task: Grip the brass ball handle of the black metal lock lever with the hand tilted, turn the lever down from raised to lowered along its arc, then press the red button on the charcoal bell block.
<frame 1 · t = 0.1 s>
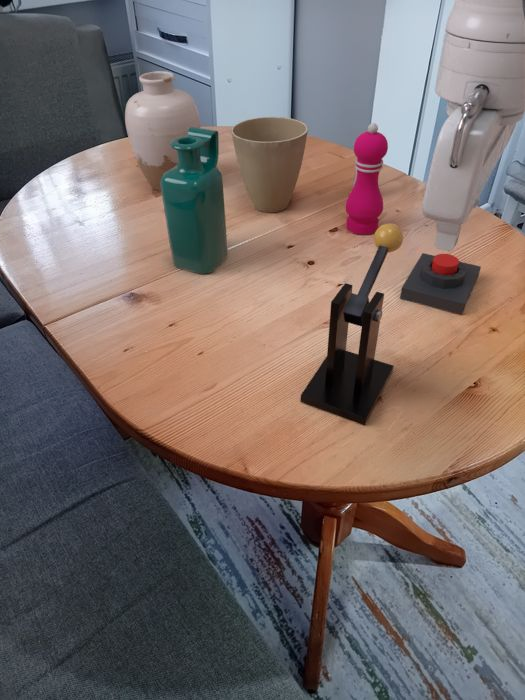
hand: (457, 224, 53), 26 cm above the table, tool pointing down, fingers open, 8 cm apart
plant pot: (270, 205, 115), on the table
pitcher: (202, 259, 99), on the table
bell button: (445, 264, 87), point 5 cm above the table, slide at 0.2 cm
vase: (171, 183, 125), on the table
lock lever: (373, 271, 66), point 15 cm above the table, hinge at 25.0°
pepper mill: (361, 228, 107), on the table
bell block: (439, 287, 90), on the table
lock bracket: (347, 386, 73), on the table
pepper shaker: (362, 195, 118), on the table
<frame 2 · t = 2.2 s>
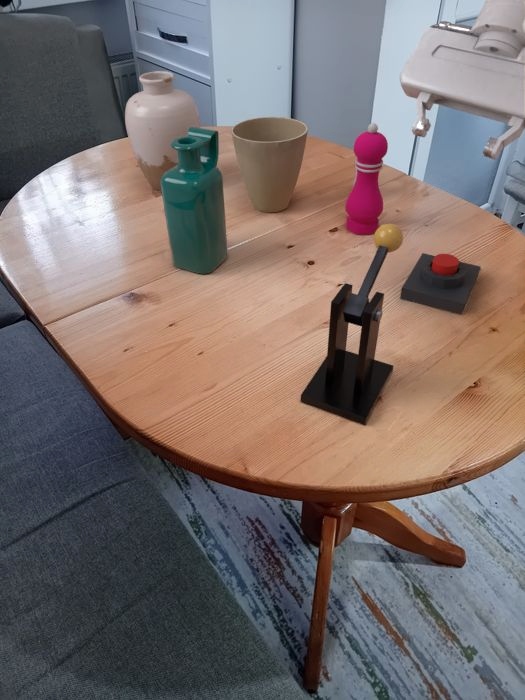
hand: (452, 144, 65), 27 cm above the table, tool tilted 40°, fingers open, 8 cm apart
nothing on the table moved.
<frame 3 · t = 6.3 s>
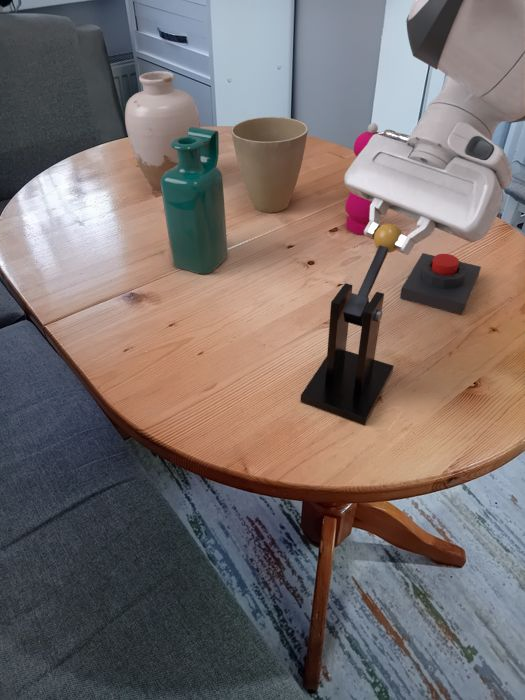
hand: (384, 244, 68), 17 cm above the table, tool tilted 45°, fingers closed on lock lever, 3 cm apart
lock lever: (373, 271, 66), point 15 cm above the table, hinge at 25.0°, touching gripper
everything else where it was.
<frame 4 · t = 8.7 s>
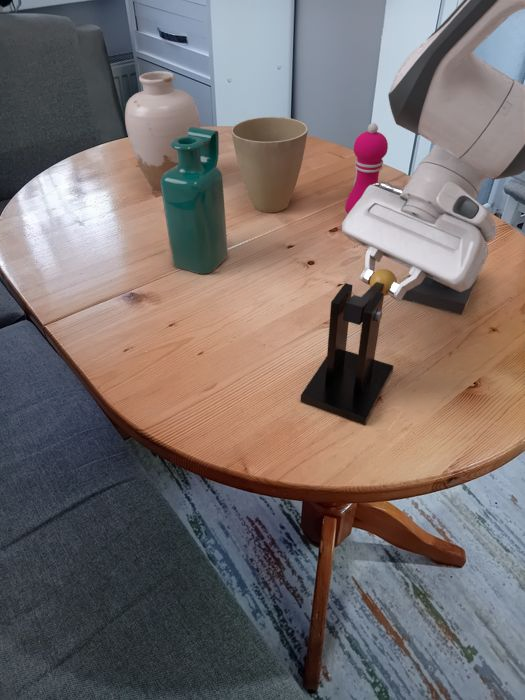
hand: (379, 290, 73), 10 cm above the table, tool tilted 45°, fingers closed on lock lever, 3 cm apart
lock lever: (371, 294, 69), point 12 cm above the table, hinge at -13.2°, touching gripper
everything else where it was.
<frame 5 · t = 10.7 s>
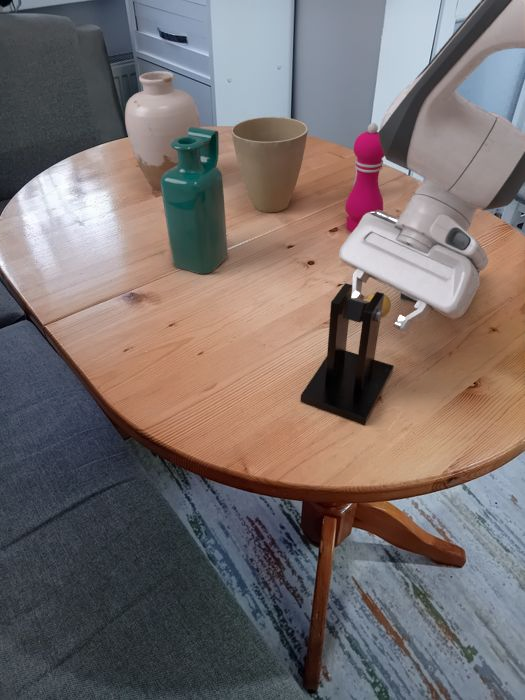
hand: (375, 316, 76), 5 cm above the table, tool tilted 45°, fingers open, 7 cm apart
lock lever: (368, 307, 69), point 10 cm above the table, hinge at -30.3°
everything else where it was.
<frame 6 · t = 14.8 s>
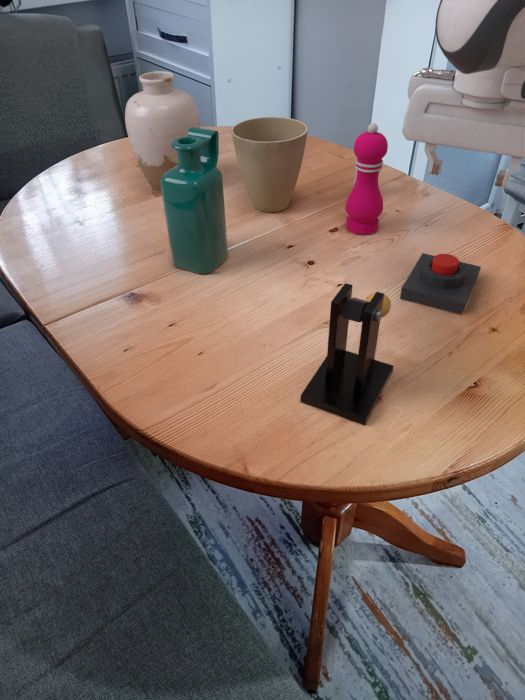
hand: (466, 179, 78), 19 cm above the table, tool pointing down, fingers open, 8 cm apart
nothing on the table moved.
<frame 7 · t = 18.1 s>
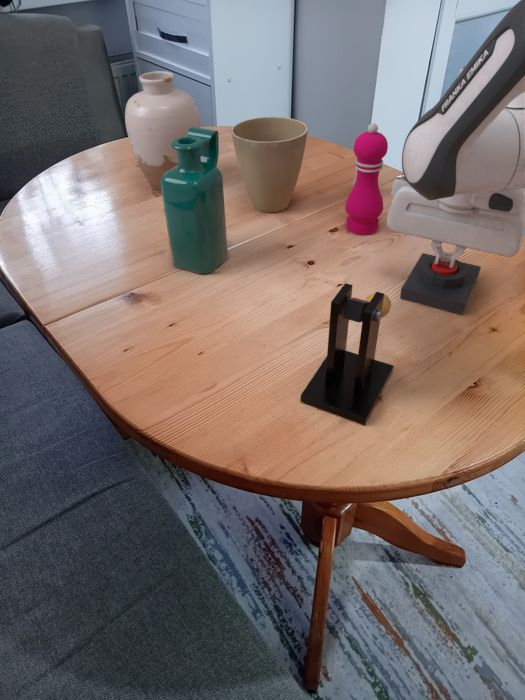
hand: (444, 264, 87), 4 cm above the table, tool pointing down, fingers closed, pressing on bell button
bell button: (444, 269, 88), point 4 cm above the table, slide at -0.8 cm, touching gripper
everything else where it was.
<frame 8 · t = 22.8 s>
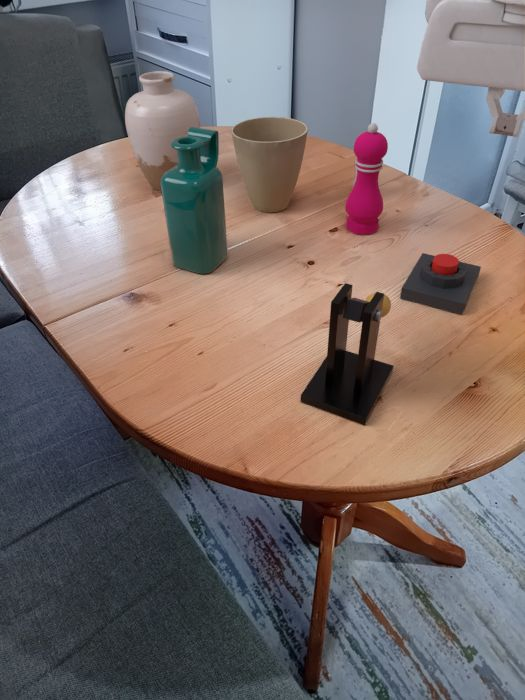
hand: (504, 133, 57), 31 cm above the table, tool pointing down, fingers closed
bell button: (445, 264, 87), point 5 cm above the table, slide at 0.1 cm
everything else where it was.
at the end: lock lever at -30° (first picture: +25°); bell button pushed in 1.0 cm at the most during the clip, back to where it started at the end; bell button slide at 0.1 cm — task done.
